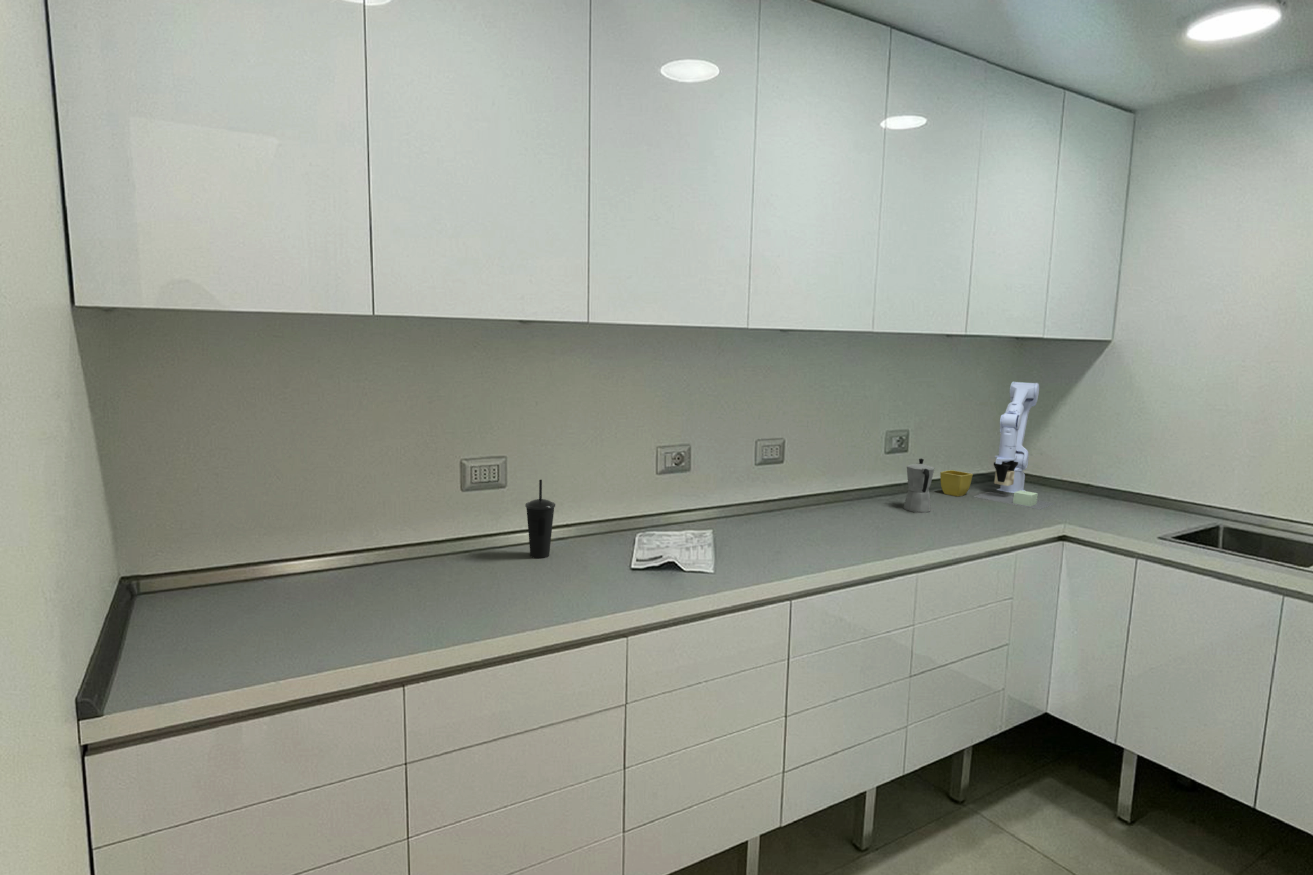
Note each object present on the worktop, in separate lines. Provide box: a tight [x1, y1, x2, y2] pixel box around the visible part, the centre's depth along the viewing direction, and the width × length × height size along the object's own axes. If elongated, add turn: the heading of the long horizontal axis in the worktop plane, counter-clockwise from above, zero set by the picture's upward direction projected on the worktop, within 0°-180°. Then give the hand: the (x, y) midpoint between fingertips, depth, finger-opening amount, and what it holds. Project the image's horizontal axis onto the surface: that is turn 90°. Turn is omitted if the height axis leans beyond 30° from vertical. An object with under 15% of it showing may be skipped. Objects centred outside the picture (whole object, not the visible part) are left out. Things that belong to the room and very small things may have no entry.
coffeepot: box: [903, 458, 936, 513], centre depth 249 cm, size 15×9×18 cm, turn 175°
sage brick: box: [1013, 490, 1039, 506], centre depth 263 cm, size 6×6×4 cm
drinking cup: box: [524, 479, 556, 559], centre depth 185 cm, size 8×8×20 cm
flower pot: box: [939, 469, 974, 497], centre depth 275 cm, size 9×9×9 cm
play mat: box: [972, 491, 1056, 510], centre depth 269 cm, size 15×24×1 cm, turn 43°
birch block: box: [993, 470, 1015, 486], centre depth 273 cm, size 5×5×5 cm
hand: (1004, 480), depth 273 cm, fingers closed on birch block, 5 cm apart
